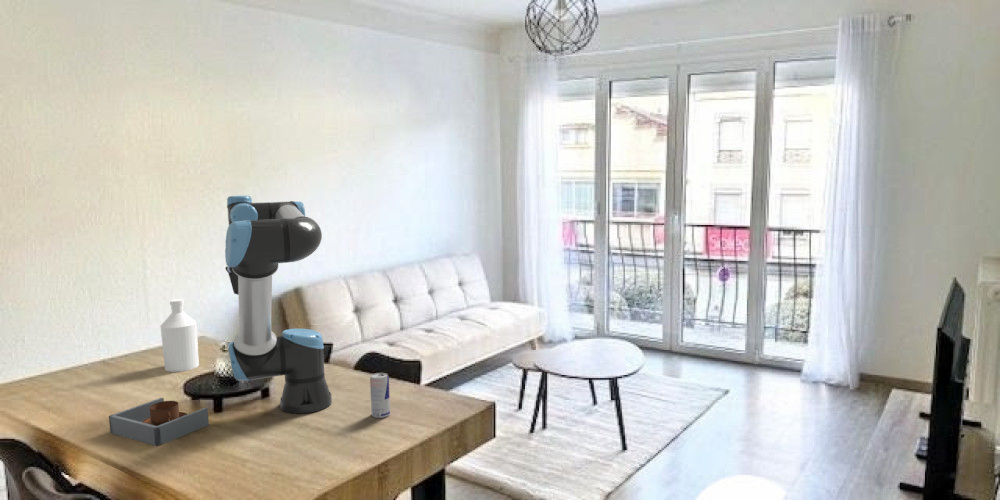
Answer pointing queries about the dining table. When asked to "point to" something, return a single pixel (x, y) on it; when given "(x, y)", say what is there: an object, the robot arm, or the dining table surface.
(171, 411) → the cup and saucer
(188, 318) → the bottle
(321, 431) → the dining table surface
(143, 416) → the box
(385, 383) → the energy drink
